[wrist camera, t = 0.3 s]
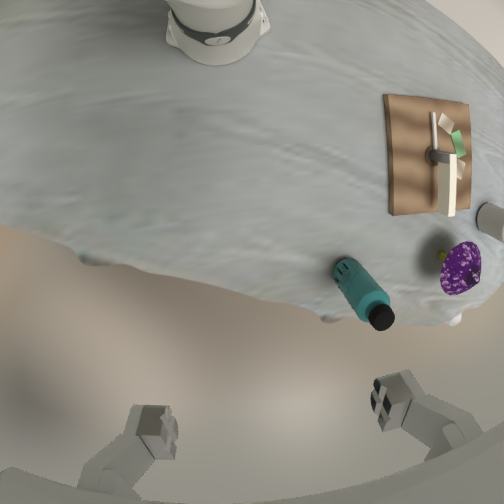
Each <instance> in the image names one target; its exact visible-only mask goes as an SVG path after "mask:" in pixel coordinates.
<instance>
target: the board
mask: <svg viewBox="0 0 504 504" xmlns="http://www.w3.org/2000/svg"><path fill="white" fill-rule="evenodd" d="M383 96H384V105H385V116H386V127H387V142H388V161H389V214H391V215H393V216H397V215H407V214H418V213H428V212H437V202H438V163H436V162H432V161H431V160H430V158H429V153H430V151H431V150H440V151H447V152H453V153H455V154H457V157H458V162H457V182H456V206H455V210H462V209H470V201H471V176H472V149H471V125H470V112H469V104H463V103H457V102H451V101H445V100H438V99H430V98H422V97H413V96H403V95H390V94H387V95H383ZM431 112H435V114H436V128H437V148H438V149H433V132H432V117H431Z"/></svg>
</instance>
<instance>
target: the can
mask: <svg viewBox="0 0 504 504" xmlns="http://www.w3.org/2000/svg"><path fill="white" fill-rule="evenodd" d="M477 223H478V227H479V229H480V230H481V231H482V232H484V233H486V234H488V235H490V236H492V237H493V238H495V239H497V240H499V241H501V242H503V243H504V209H503V208H500V207H498V206H495V205H493V204H490V203H486V204H484V205H483V206H482V207H481V209H480V210H479V212H478V216H477Z"/></svg>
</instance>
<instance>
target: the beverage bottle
mask: <svg viewBox="0 0 504 504" xmlns="http://www.w3.org/2000/svg"><path fill="white" fill-rule="evenodd" d="M333 275H334V280H335V283H337V285H338V286H339V287H338V288H339V289H341V291H342V292H343V293H342V294H344V295H345V296H344V297H345V298H347V301H349V303H350V304H351V306H352V309H353V310H354V311H355V312H356V313H357V316H358V317H359V319H360V320H362V321H364V322H368V323H370V324H371V325H372V326H373V327H374V328H375V329H376V330H378V331H383V330H386V329H388V328H389V327H390V326H391V325H392V324H393V322H394V320H395V315H394V313H393V311H392V309H391V308H390V298H389V296H388V294H387V293H386V292H384V290H383V289H382V288H381V287H380V286H379V285H378V284H377V283H376V281H375V280H374V279H373V277H371V276H370V274H369V273H368V272H367V271H366V269H364V268H363V267H362V265H361V264H360V263H359V262H358V261H356V260H354V259H352V258H347V259H344V260H341V261H340V262H339V263H338V264H337V265H336V266H335V268H334V273H333Z"/></svg>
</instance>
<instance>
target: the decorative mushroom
mask: <svg viewBox="0 0 504 504" xmlns="http://www.w3.org/2000/svg"><path fill="white" fill-rule="evenodd" d="M438 257H439V258H440V259H441V260H443V261H444V262H443V265H442V269H441V275H440V282H441V287H442V289H443V290H444V292H445V293H447V294H449V295H458V294H460V293H463V292H465V291H467V290H469V289H471V288H472V287H473V286H474V285H476V284H478V283H479V281H480V274H481V257H480V251H479V249H478V247H477V245H475V244H474V243H473V242H468V241H466V242H463V243H460V244H458V245H457V246H456V247H454V248H453V249H452V250H451V251H450V253H449V254H448V255H446V254H445V252H443V251H441V252H439V254H438Z"/></svg>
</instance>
